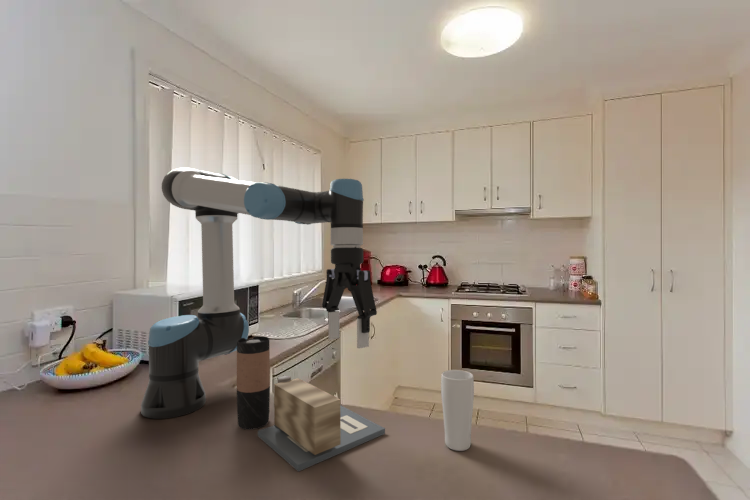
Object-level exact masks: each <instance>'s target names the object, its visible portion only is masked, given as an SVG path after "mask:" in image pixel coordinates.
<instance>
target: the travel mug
mask: <svg viewBox="0 0 750 500" xmlns="http://www.w3.org/2000/svg"><path fill="white" fill-rule="evenodd" d="M270 360H271V359H270V338H269V337H267V336H263V335H261V336H260V335H256V336H254V337H252V338H249V339H248V338H247V339H245V338H241V339H239V340H237V351H236V405H237V407H236V409H237V410H236V411H237V413H236V414H237V426H238V427H239V428H240V429H241V430H258V429H260V428H263V427H265V426H266V425H268V423H269V421H270V403H271V401H270V400H271V397H270V396H271V366H270V364H271V363H270Z"/></svg>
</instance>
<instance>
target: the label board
mask: <svg viewBox="0 0 750 500" xmlns="http://www.w3.org/2000/svg"><path fill="white" fill-rule="evenodd" d="M340 429H341V444H340V445H338V446H335V447H333V448H331V449H328V450H326V451H323V452H321V453H319V454H316V455H314V454H313V453H311V452H310V451H309V450H308V449H306V448H305V447H304V446H302V445H301V444H300V443H298V442H297V441H296V440H294V439H293V438H292V437H290V436H289V435H288V434H286V433H285V432H284V431H283V430H281V429H280V428H279V427H277V426H276V425H275V424H273V425H271V426H269V427H268V426H267V427H265V428H261V429H259V430H258V429H257V437H258V438H259V439H261V440H262V442H264V443H265V444H266V445H268V446H269V447H270V448H271V449H272V450H273V451H274V452H275V453H277V455H279V457H281V458H282V459H283V460H285V462H287V463H288V464H289V465H290V466H291V467H292V468H294V469H295V471H297V472H300V471H303V470H305V469H308V468H310V467H312V466H314V465H316V464H319V463H321V462H323V461H326V460H328V459H331V458H332V457H335V456H337V455H339V454H342V453H344V452H346V451H348V450H351V449H354V448H355V447H358V446H360V445H362V444H364V443H366V442H368V441H372V440H374V439H376V438H378V437H381V436H383V435H385V434H386V428H385V427H383V426H382V425H380V424H377V423H375V422H373V421H372V420H370V419H368V418H366V417H364V416H362V415H360V414H358V413H356V412H355V411H352V410H351V409H349V408H348V407H345V406H342V405H341V404H340Z"/></svg>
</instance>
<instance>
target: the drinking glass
mask: <svg viewBox="0 0 750 500" xmlns="http://www.w3.org/2000/svg"><path fill="white" fill-rule="evenodd" d="M440 381H441V382H440V391H441V392H440V393H441V406H442V416H443V417H442V418H443V430H444V443H445V446H446V447H447V448H448V449H450V450H452V451H457V452H464V451H467V450H468V449H470V448H471V444H472V442H471V440H472V439H471V438H472V437H471V436H472V424H473V423H472V421H473V411H474V398H475V385H474V384H475V383H474V381H475V380H474V374H473V373H471V372H470V371H466V370H462V369H448V370H445V371H443V372H441V378H440Z"/></svg>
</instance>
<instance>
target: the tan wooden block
mask: <svg viewBox="0 0 750 500" xmlns="http://www.w3.org/2000/svg"><path fill="white" fill-rule="evenodd" d="M273 390H274V391H273V394H274V395H273V399H274V400H273V401H274V403H273V408H274V409H273V411H274V415H273V417H274V419H273V420H274V422H273V423H274V424H273V425H276V426H277V427H279V428H280V429H281V430H283V431H284V432H285V433H286V434H288V435H289V436H290V437H292V438H293V439H294V440H296V441H297V442H298V443H300V444H301V445H302V446H304V447H305V448H306V449H308V450H309V451H310V452H311V453H313V454H314V455H316V454H319V453H321V452H323V451H326V450H328V449H331V448H333V447H335V446H338V445H340V444H341V429H340V405H341V399H340V398H338V397H337V396H334V395H333V394H330V393H329V392H326V391H325V390H323V389H320V388H319V387H317V386H316V385H313V384H311V383H309V382H306V381H305V380H303V379H301V378H299V377H297V378H293V379H292V377H291V376H289V375H283V376H278V378H277V383H274V384H273Z"/></svg>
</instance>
